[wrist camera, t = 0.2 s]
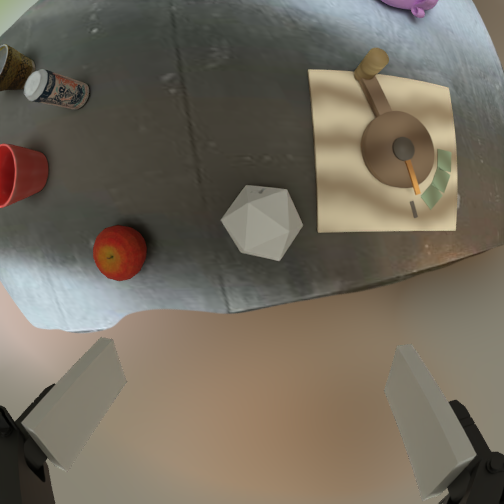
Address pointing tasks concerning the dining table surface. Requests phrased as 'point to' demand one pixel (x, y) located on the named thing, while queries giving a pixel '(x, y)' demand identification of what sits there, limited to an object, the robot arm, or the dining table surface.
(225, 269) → the dining table surface
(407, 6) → the teapot
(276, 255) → the die
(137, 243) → the apple
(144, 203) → the dining table surface
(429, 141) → the dial
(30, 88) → the beer can
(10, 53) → the ceramic cup
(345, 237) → the dining table surface
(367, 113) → the board
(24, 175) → the flower pot
